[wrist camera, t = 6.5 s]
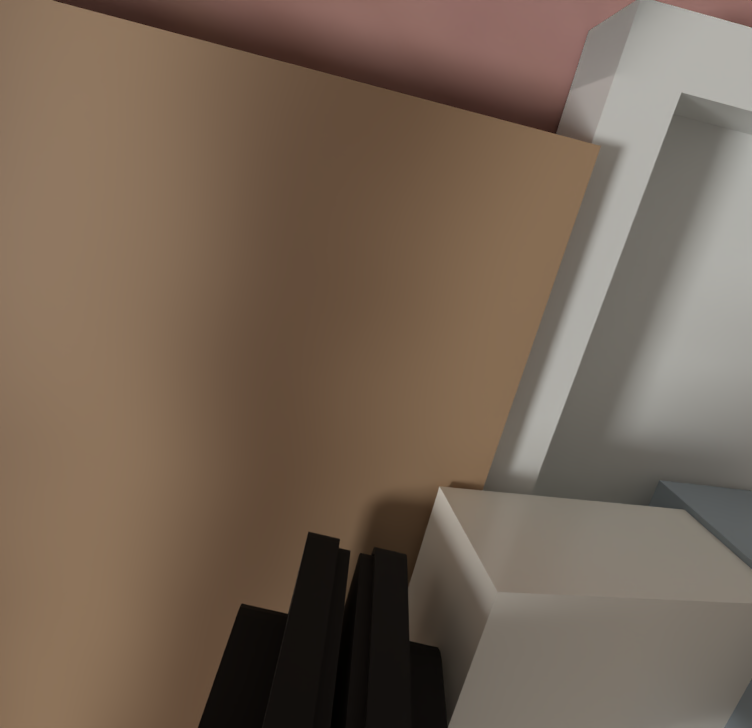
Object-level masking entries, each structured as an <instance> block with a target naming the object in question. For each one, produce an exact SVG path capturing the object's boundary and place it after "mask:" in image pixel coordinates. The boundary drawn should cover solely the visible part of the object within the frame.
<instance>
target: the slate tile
mask: <svg viewBox="0 0 752 728" xmlns="http://www.w3.org/2000/svg"><path fill="white" fill-rule="evenodd" d="M648 506H652V507H662V508H673V509H683V510H686V511H687V512H688V513H689V514H690V515H691V516H692V517H694V518H695V519H696V520H697V521H698V522H699V523H700V524H701V525H703V526H704V527H705V528H706V529H707V530H708V531H709V532H711V533H712V534H713V535H714V536H715V537H716V538H717V539H718V540H720V541H721V542H722V543H723V544H724V545H725V546H726V547H727V548H729V549H730V550H731V551H732V552H733V553H734V554H735V555H737V556H738V557H739V558H740V559H741V560H742V561H743V562H744V563H746V564H747V565H748V566H749V567H750V568H751V569H752V491H750V490H741V489H732V488H724V487H715V486H706V485H697V484H688V483H679V482H671V481H662V480H659V482H658V485H657V487H656V489H655V492H654V494H653V496H652V498H651V501H650V503H649V505H648ZM724 728H752V679H751V681H750V683H749V684H748V686H747V688H746V690H745V692H744V693H743V695H742V697H741V699H740V700H739V702H738V704H737V706H736V708H735V709H734V711H733V713H732V715H731V716H730V718H729V720H728V722H727V724H726V725H725V727H724Z"/></svg>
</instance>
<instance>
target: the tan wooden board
mask: <svg viewBox="0 0 752 728" xmlns="http://www.w3.org/2000/svg"><path fill="white" fill-rule="evenodd" d="M600 148H601V146H599V145H595V144H592V143H588V142H584V141H580V140H577V139H573V138H569V137H565V136H561V135H558V134H554V133H550V132H546V131H543V130H539V129H535V128H531V127H528V126H524V125H520V124H516V123H512V122H509V121H505V120H501V119H497V118H494V117H490V116H486V115H482V114H479V113H475V112H471V111H467V110H464V109H460V108H456V107H452V106H448V105H445V104H441V103H437V102H433V101H430V100H426V99H422V98H418V97H415V96H411V95H407V94H403V93H399V92H396V91H392V90H388V89H384V88H381V87H377V86H373V85H369V84H366V83H362V82H358V81H354V80H350V79H347V78H343V77H339V76H335V75H332V74H328V73H324V72H320V71H317V70H313V69H309V68H305V67H302V66H298V65H294V64H290V63H286V62H283V61H279V60H275V59H271V58H268V57H264V56H260V55H256V54H253V53H249V52H245V51H241V50H237V49H234V48H230V47H226V46H222V45H219V44H215V43H211V42H207V41H204V40H200V39H196V38H192V37H188V36H185V35H181V34H177V33H173V32H170V31H166V30H162V29H158V28H155V27H151V26H147V25H143V24H140V23H136V22H132V21H128V20H124V19H121V18H117V17H113V16H109V15H106V14H102V13H98V12H94V11H91V10H87V9H83V8H79V7H75V6H72V5H68V4H64V3H60V2H57V1H53V0H0V728H198V726H199V723H200V720H201V717H202V714H203V711H204V708H205V705H206V702H207V700H208V697H209V694H210V691H211V688H212V685H213V682H214V679H215V676H216V674H217V671H218V668H219V665H220V662H221V659H222V656H223V653H224V650H225V647H226V645H227V642H228V639H229V636H230V633H231V630H232V627H233V624H234V621H235V619H236V616H237V613H238V610H239V608H240V605H241V604H247V605H251V606H256V607H260V608H265V609H269V610H273V611H278V612H282V613H287V614H288V612H289V607H290V603H291V599H292V595H293V591H294V587H295V583H296V579H297V575H298V571H299V567H300V563H301V559H302V555H303V551H304V547H305V543H306V539H307V535H308V532H313V533H317V534H321V535H326V536H330V537H334V538H339V539H340V544H339V548H342V549H346V550H350V551H351V552H350V561H349V570H348V579H347V587H346V596H345V603H346V599H347V596H348V592H349V588H350V585H351V581H352V578H353V574H354V571H355V567H356V564H357V560H358V557H359V554H360V553H364V554H368V555H371V554H372V551H373V548H374V547H378V548H382V549H386V550H391V551H395V552H399V553H404V554H406V555H407V567H408V587H409V583H410V580H411V577H412V574H413V571H414V567H415V564H416V561H417V558H418V554H419V551H420V548H421V545H422V541H423V538H424V535H425V532H426V528H427V525H428V522H429V519H430V515H431V512H432V509H433V506H434V503H435V499H436V496H437V493H438V490H439V486H441V487H452V488H462V489H473V490H483V487H484V484H485V482H486V479H487V476H488V473H489V470H490V467H491V464H492V461H493V458H494V455H495V452H496V450H497V447H498V444H499V441H500V438H501V435H502V432H503V429H504V426H505V423H506V421H507V418H508V415H509V412H510V409H511V406H512V403H513V400H514V397H515V394H516V391H517V389H518V386H519V383H520V380H521V377H522V374H523V371H524V368H525V365H526V362H527V360H528V357H529V354H530V351H531V348H532V345H533V342H534V339H535V336H536V333H537V331H538V328H539V325H540V322H541V319H542V316H543V313H544V310H545V307H546V304H547V301H548V299H549V296H550V293H551V290H552V287H553V284H554V281H555V278H556V275H557V272H558V270H559V267H560V264H561V261H562V258H563V255H564V252H565V249H566V246H567V243H568V240H569V238H570V235H571V232H572V229H573V226H574V223H575V220H576V217H577V214H578V211H579V209H580V206H581V203H582V200H583V197H584V194H585V191H586V188H587V185H588V182H589V179H590V177H591V174H592V171H593V168H594V165H595V162H596V159H597V156H598V153H599V150H600ZM344 606H345V605H344Z"/></svg>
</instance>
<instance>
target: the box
mask: <svg viewBox="0 0 752 728" xmlns="http://www.w3.org/2000/svg"><path fill="white" fill-rule="evenodd" d="M556 134H558V135H561V136H565V137H569V138H573V139H577V140H580V141H584V142H588V143H592V144H595V145H599V146H601V148H600V150H599V153H598V156H597V159H596V162H595V165H594V168H593V171H592V174H591V177H590V179H589V182H588V185H587V188H586V191H585V194H584V197H583V200H582V203H581V206H580V209H579V211H578V214H577V217H576V220H575V223H574V226H573V229H572V232H571V235H570V238H569V240H568V243H567V246H566V249H565V252H564V255H563V258H562V261H561V264H560V267H559V270H558V272H557V275H556V278H555V281H554V284H553V287H552V290H551V293H550V296H549V299H548V301H547V304H546V307H545V310H544V313H543V316H542V319H541V322H540V325H539V328H538V331H537V333H536V336H535V339H534V342H533V345H532V348H531V351H530V354H529V357H528V360H527V362H526V365H525V368H524V371H523V374H522V377H521V380H520V383H519V386H518V389H517V391H516V394H515V397H514V400H513V403H512V406H511V409H510V412H509V415H508V418H507V421H506V423H505V426H504V429H503V432H502V435H501V438H500V441H499V444H498V447H497V450H496V452H495V455H494V458H493V461H492V464H491V467H490V470H489V473H488V476H487V479H486V482H485V484H484V487H483V491H494V492H504V493H515V494H525V495H536V496H546V497H557V498H567V499H578V500H588V501H599V502H609V503H620V504H630V505H641V506H648V505H649V503H650V501H651V498H652V496H653V494H654V492H655V489H656V487H657V485H658V482H659V480H662V481H671V482H679V483H688V484H697V485H706V486H715V487H724V488H732V489H741V490H750V491H752V28H751V27H748V26H744V25H740V24H737V23H733V22H730V21H726V20H722V19H719V18H715V17H712V16H708V15H704V14H701V13H697V12H694V11H690V10H686V9H683V8H679V7H676V6H672V5H668V4H665V3H661V2H658V1H654V0H636V1H634V2H633V3H631V4H630V5H628V6H626V7H625V8H623V9H622V10H620V11H619V12H617V13H616V14H614V15H612V16H611V17H609V18H608V19H606V20H605V21H603V22H602V23H600V24H598V25H597V26H595V27H594V28H592V29H591V30H589V32H588V35H587V38H586V41H585V44H584V48H583V51H582V54H581V57H580V60H579V63H578V66H577V69H576V73H575V76H574V79H573V82H572V85H571V88H570V91H569V94H568V98H567V101H566V104H565V107H564V110H563V113H562V116H561V119H560V123H559V126H558V129H557V132H556Z"/></svg>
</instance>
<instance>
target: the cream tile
mask: <svg viewBox="0 0 752 728" xmlns="http://www.w3.org/2000/svg"><path fill="white" fill-rule="evenodd" d="M408 605H409V641H412V642H417V643H421V644H426V645H430V646H435V647H438V648H439V650H440V653H441V659H442V669H443V680H444V691H445V702H446V714H447V725H448V728H724V727H725V725H726V724H727V722H728V720H729V718H730V716H731V715H732V713H733V711H734V709H735V708H736V706H737V704H738V702H739V700H740V699H741V697H742V695H743V693H744V692H745V690H746V688H747V686H748V684H749V683H750V681H751V679H752V569H751V568H750V567H749V566H748V565H747V564H746V563H744V562H743V561H742V560H741V559H740V558H739V557H738V556H737V555H735V554H734V553H733V552H732V551H731V550H730V549H729V548H727V547H726V546H725V545H724V544H723V543H722V542H721V541H720V540H718V539H717V538H716V537H715V536H714V535H713V534H712V533H711V532H709V531H708V530H707V529H706V528H705V527H704V526H703V525H701V524H700V523H699V522H698V521H697V520H696V519H695V518H694V517H692V516H691V515H690V514H689V513H688V512H687V511H686V510H683V509H673V508H662V507H652V506H641V505H630V504H620V503H609V502H599V501H588V500H578V499H567V498H557V497H546V496H536V495H525V494H515V493H504V492H494V491H483V490H473V489H462V488H452V487H441V486H439V490H438V493H437V496H436V499H435V503H434V506H433V509H432V512H431V515H430V519H429V522H428V525H427V528H426V532H425V535H424V538H423V541H422V545H421V548H420V551H419V554H418V558H417V561H416V564H415V567H414V571H413V574H412V577H411V580H410V583H409V587H408Z"/></svg>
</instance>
